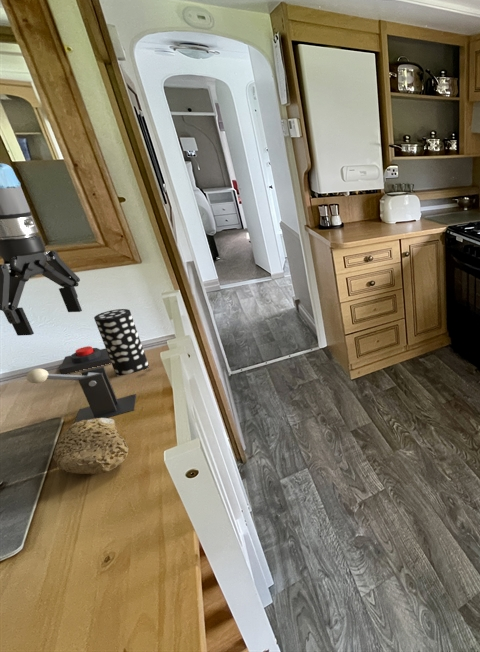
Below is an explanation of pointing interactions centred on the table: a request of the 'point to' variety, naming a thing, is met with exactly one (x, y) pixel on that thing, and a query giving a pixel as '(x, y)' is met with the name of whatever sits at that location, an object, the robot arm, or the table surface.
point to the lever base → (102, 397)
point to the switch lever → (51, 376)
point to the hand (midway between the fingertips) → (52, 322)
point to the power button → (84, 351)
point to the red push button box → (84, 361)
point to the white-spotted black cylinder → (121, 341)
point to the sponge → (90, 447)
